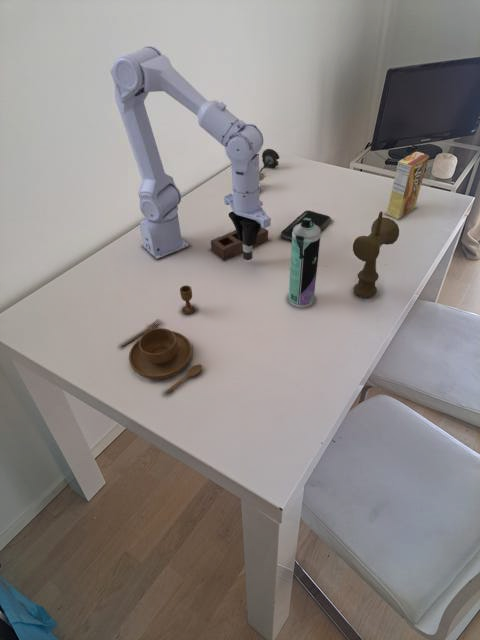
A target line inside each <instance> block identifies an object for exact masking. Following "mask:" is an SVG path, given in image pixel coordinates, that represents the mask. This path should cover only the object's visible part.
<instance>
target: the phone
mask: <svg viewBox="0 0 480 640" xmlns="http://www.w3.org/2000/svg"><path fill="white" fill-rule="evenodd" d="M306 217H311V218H312V222H313V223H314V224H315V225H317V226H318V227H319V228H320V230H321V231H322V230H323V229H325V227H326V226H327V225H329V223H331V216H329V215H327V214H323V213H319V212H316V211H312V210H305V211H303V212H302V213H301V214H300V215H299V216H298V217H297V218H295V219H294V220H293V221H292V222H291V223H290V224H289V225H287V226H286V227H285V228H284V229H283V230H282V231H281V232H280V239H283V240H285V241H289V242H292V232H293V228H294V227H295V226H296V225H298V224H300V223H301V222H302V221H303V219H304V218H306Z"/></svg>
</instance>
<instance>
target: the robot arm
mask: <svg viewBox="0 0 480 640" xmlns="http://www.w3.org/2000/svg"><path fill="white" fill-rule="evenodd" d="M110 75H111V77H112V81H113V84H114V98H115V103H116V105H117V108H118V111H119V115H120V117H121V120H122V123H123V127H124V129H125V132H126V135H127V138H128V141H129V144H130V148H131V150H132V153H133V156H134V159H135V162H136V165H137V168H138V171H139V174H140V177H141V183H140V186H139V189H138V193H137V194H138V198H139V209H140V211H141V214H142V215H143V216H144V218H145V219H143V220H141V221H140V222H139V229H140V234H141V237H142V242H143V244H142V246H143V248H144V249H146V250H147V251H148V253H150V254H151V255H152V256H153V257H154V258H155V259H161V258H163V257H166V256H168V255H171V254H173V253H175V252H179V251H180V250H183V249H186V248H187V247H189V243H187V241H185V240H184V239H183V238H182V233H181V227H180V220H179V214H178V213H179V212H178V210H179V204H180V203H181V201H182V193H181V191H180V189H179V188H178V187H177V185H176V183H175V180H174V177H173V176H171V175H169V174H167V173H166V172H165V169H164V165H163V163H162V158H161V155H160V152H159V148H158V145H157V141H156V138H155V136H154V132H153V131H154V130H153V128H152V125H151V122H150V119H149V115H148V112H147V109H146V105H145V100H146V99H147V97H148V95H149V93H153V92H155V93H157V92H164V93H165V94H167V95H168V96H169V97H171V98H172V99H174V100H175V101H177V102H178V103H179V104H180V105H182V106H183V107H185V108H186V109H187V110H189V111H190V112H191V113H192V114H194V115H195V116H196V117H197V122H198V125H199V127H200V128H201V129H202V130H204V132H206V133H207V134H209V135H210V136H211V137H212V138H213V139H214V140H216V141H217V142H218V143H219V144H220V145H221V146H223V147H224V151H225V154H226V156H227V158H228V159H229V162H230V166H231V178H232V179H231V180H232V181H231V183H232V184H231V185H232V193H229V194H226V195H224V196H223V200H224V205H226V206H229V207H230V209H231V210H232V211H230V212H229V213H228V217H229V219H230V220H231V222H232V224H233V226H234V229H235V230H236V231H237V234H238V237H239V240H240V241H241V242H242V241H243V237H242V228H243V230H244V233H245V241H246V245H247V246H248V247H249V246H252V245H254V244H255V242H256V239H257V235H258V232H259V230H260V228H261V227H262V228H265V229H266V228H269V227H270V226H271V224H272V218H271V216H269V215H268V214H267V213H266V212H265V211H266V210H264V208H263V207H262V206H263V205H264V203H263V201H262V200H260V191H259V186H260V181H259V172H260V153H259V152H260V151H261V149H262V148H263V145H264V136H263V133H262V132H261V130H260V129H259V128H258V126H257V125H256V124H254V123H246V121H243V120H242V119H239V118H238V117H237V116H235V114H233V113H232V112H231V111H230V110H229V109H228V108H227V104H225V103H224V102H223V101H220V102H219V101H218V100H216V99H214V100H207V98H205V97H204V95H202V94H201V93H200V92H199V91H198V90H197V89H196V88H195V87H194V86H193V85H192V84H191V83H190V82H189V81H188V80H187V79H186V78H185V77H184V76H183V75H181V73H180V72H179V71H177V70H176V68H175V67H174V66H173V65H172V63H171V61H170V59H169V57H168V56H167V55H165V54H162V52H161V50H159V49H158V48H157V47H156V46H152V45H147V46H144V47H143V48H141V49H139V50H136V51H133V52H130V53H128V54H122V55H120V56H117V58H116V59H115V61H114V63H113V65H112V67H111V69H110Z"/></svg>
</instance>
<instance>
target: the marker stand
mask: <svg viewBox="0 0 480 640" xmlns="http://www.w3.org/2000/svg"><path fill="white" fill-rule="evenodd" d="M265 242H269V230H268V229H266V228H262V227H261V228H260V230H259V232H258V235H257V239H256V242H255V244H254V245H252V248H255V247H257V246H259V245H261V244H264V243H265ZM210 250H211V252H213V253H214V254H215V255H216V256H217V257H219V258H220V259H222V260H223V261H226V260H229V259H230V258H232V257H234V256H237V255H239V254H241V253H243V241H242V242H241V241H240V240H239V237H238V234H237V231H236V229H235V230H233V231H230V232H228V233H226V234H223V235H221V236H219V237H216V238H213V239H211V240H210Z"/></svg>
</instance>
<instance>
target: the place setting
mask: <svg viewBox="0 0 480 640" xmlns="http://www.w3.org/2000/svg"><path fill="white" fill-rule="evenodd" d="M179 294H180V297H181V300H182V301H184V302H185V305H184V306H183V307H182V309H181V310H182V311H181V312H182V313H183V314H184V315H192V314H194V313H195V311H196V307H195V306H194V305H191V302H190V301H191V300H192V299H193V290H192V287H191V286H190V285H182V286H181V287H180V288H179ZM161 323H162V321H161V320H160V319H159V318H157V319H156V320H155V321H154V322H152V324H150V325H149V326H148V327H147V328H146V329H144V330H142V331H141V332H140V333H137V334H136V335H135V336H133V337H132V338H130V339H129V340H127V341H126V342H124V343H123V344H121V345H120V347H125V346H126V345H128V344H130V343H131V342H133V341H134V340H136V339H137V340H136V342H135V343H133V345H132V346H131V348H130V350H129V354H128V361H129V364H130V366H131V368H132V370H133V371H134V372H135V373H136V374H137V375H140V377H144V378H146V379H150V380H151V379H152V380H161V379H167V378H170V377H173V376H175V375H176V374H178V373H180V372H181V371H182V370H183V369H185V368H186V366H187V365H188V364H189V362H190V360H191V357H192V352H193V351H192V345H191V342H190V340H189V339H188V338H187V337H186V336H185V335H184V334H182V333H180V332H177V331H173V330H170V329H169V328H165V327H159V328H157V327H158V326H159V325H160V324H161ZM140 336H141V337H140ZM139 337H140V338H139ZM138 338H139V339H138ZM202 368H203V365H202V364H199V363H198V364H195V365H193V366H191V367H190V368H189V370H188V371H187V373H186V374H185V375H184V377H182V378H181V379H180V380H178V381H177V382H176V383H174V384H173V385H172V386H171V387H169V388H168V389H167V390H166V391H165V395H166V394H169V393H170V392H172V391H173V390H174V389H176V388H177V387H178V386H180V384H182V383H183V382H184V381H185V380H186V379H187V378H191V377H194V376H196V375H198V374H199V373H200V372H201V370H202Z"/></svg>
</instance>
